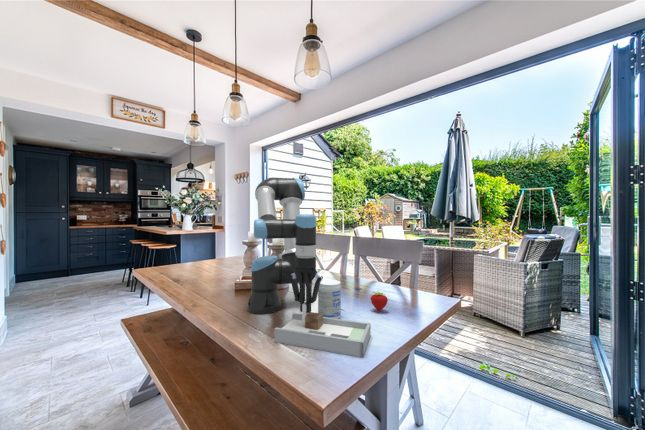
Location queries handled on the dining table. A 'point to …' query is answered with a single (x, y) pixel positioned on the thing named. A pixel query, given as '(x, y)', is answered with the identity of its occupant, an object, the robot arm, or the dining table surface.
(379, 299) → the strawberry
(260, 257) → the robot arm
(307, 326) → the walnut block
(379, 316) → the dining table surface
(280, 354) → the dining table surface
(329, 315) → the supplement tub
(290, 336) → the box
